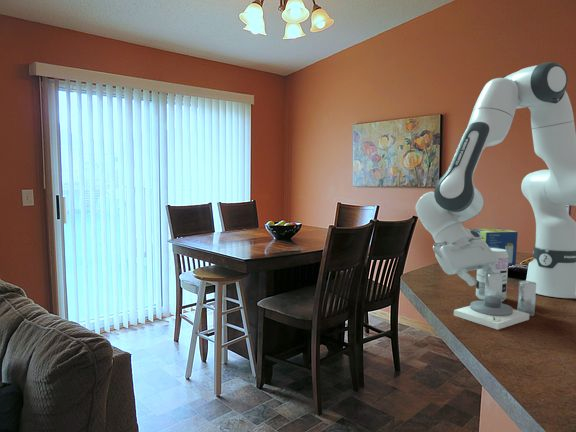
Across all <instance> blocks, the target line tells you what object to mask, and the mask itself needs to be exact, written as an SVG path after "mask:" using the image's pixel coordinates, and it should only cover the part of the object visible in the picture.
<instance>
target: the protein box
mask: <svg viewBox="0 0 576 432" xmlns="http://www.w3.org/2000/svg"><path fill="white" fill-rule="evenodd" d="M468 229H469V230H472V231H476V232H479V233H480V235H481V236H482V238H481V240H483V241H484V242H485V243H486V244H487V245H488V246H489V247H490V248H500V249H505V250H506V251H507V253H508V255H509V257H508V267H509V266H512V265H516V266H517V264H516V262H517V251H518V250H517V248H518V247H517V246H518V234H519V232H518V231H516V230H515V231H514V230H511V229H505V228H499V227H495V228H468Z"/></svg>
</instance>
